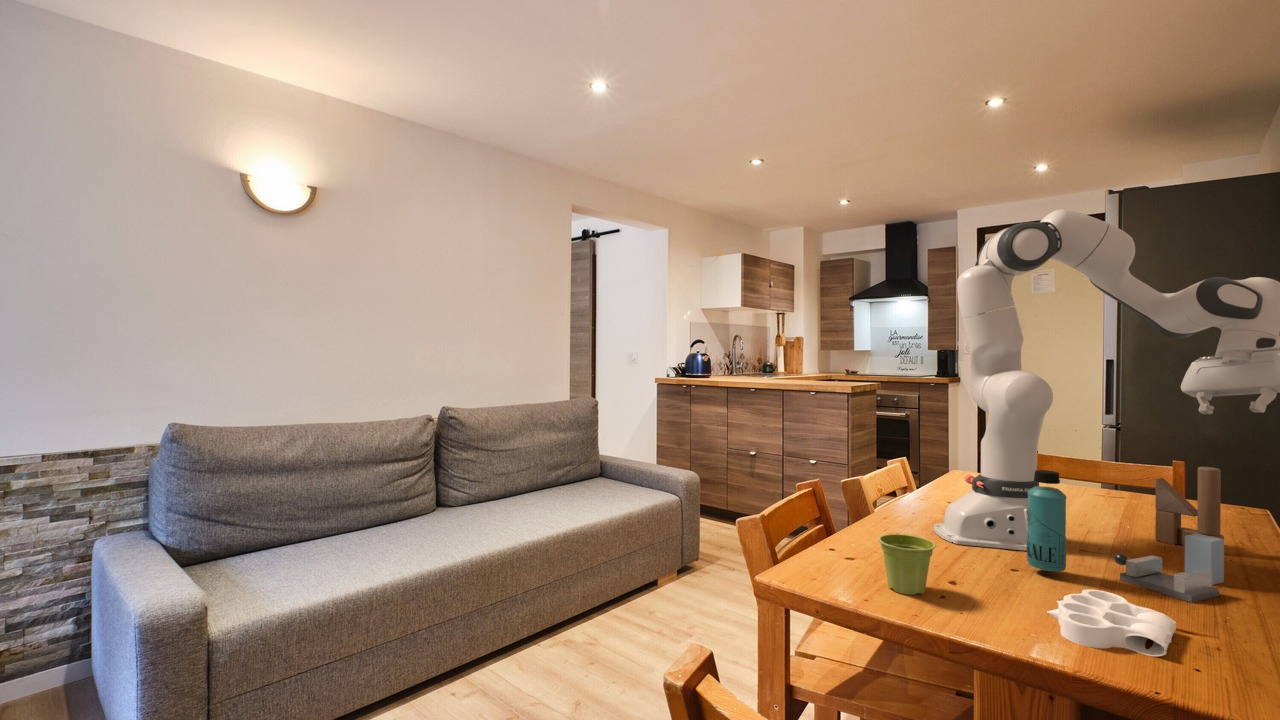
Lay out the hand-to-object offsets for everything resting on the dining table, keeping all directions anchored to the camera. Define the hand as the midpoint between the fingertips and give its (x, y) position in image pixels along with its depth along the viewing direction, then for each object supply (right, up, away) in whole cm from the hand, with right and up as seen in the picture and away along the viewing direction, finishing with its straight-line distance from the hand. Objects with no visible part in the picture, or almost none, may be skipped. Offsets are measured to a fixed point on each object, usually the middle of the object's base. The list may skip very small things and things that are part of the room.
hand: (1229, 412), depth 121 cm
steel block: (-14, -31, -10) cm, 35 cm away
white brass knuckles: (-49, -31, -30) cm, 65 cm away
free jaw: (-27, -29, -8) cm, 40 cm away
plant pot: (-73, -31, -14) cm, 80 cm away
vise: (-25, -31, -13) cm, 42 cm away
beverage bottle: (-42, -31, -7) cm, 53 cm away
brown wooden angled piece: (+1, -31, +10) cm, 33 cm away
